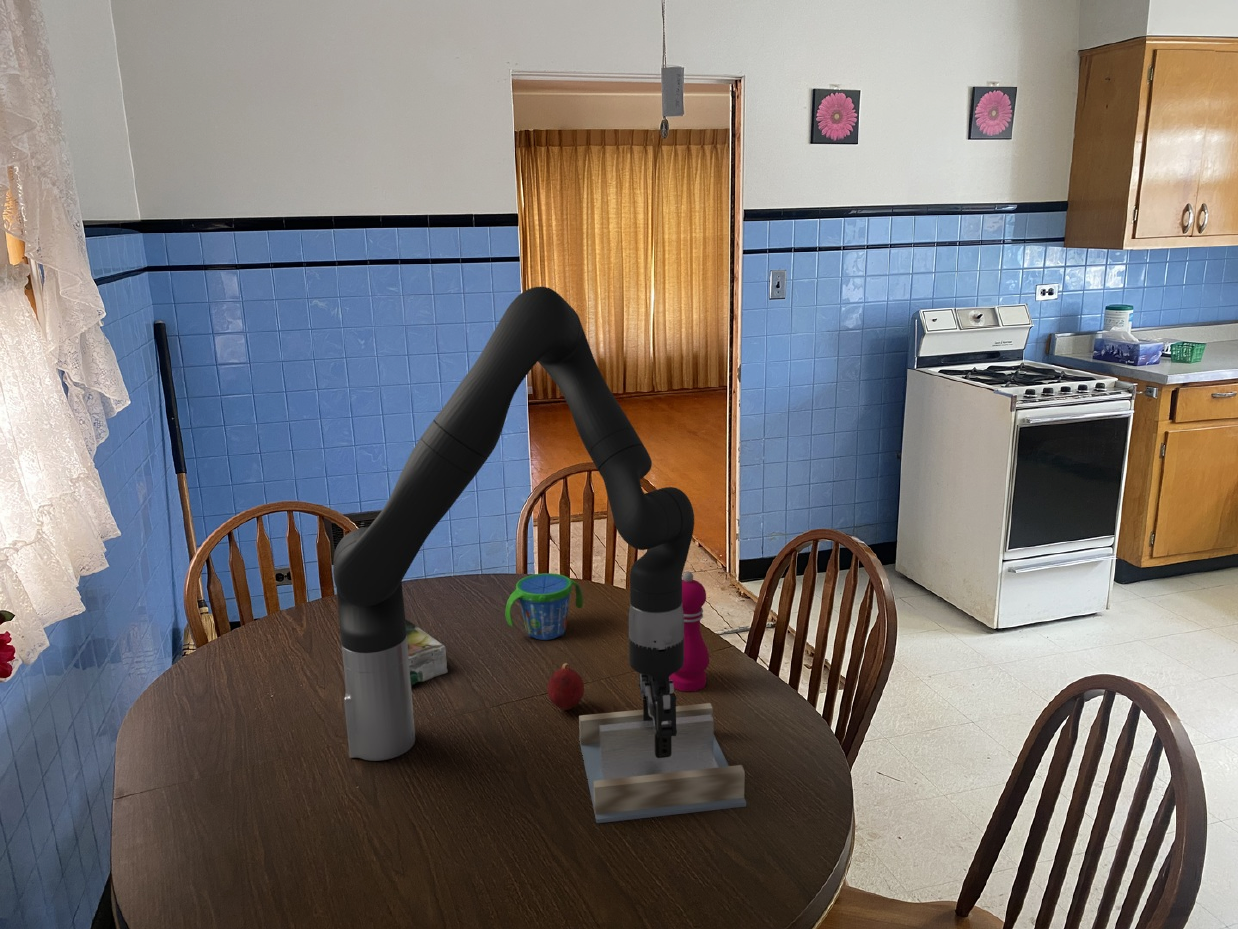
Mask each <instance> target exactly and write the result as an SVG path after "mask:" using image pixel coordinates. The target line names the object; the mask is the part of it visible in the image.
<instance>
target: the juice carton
mask: <svg viewBox="0 0 1238 929" xmlns="http://www.w3.org/2000/svg"><path fill="white" fill-rule="evenodd" d="M406 632H407V644H408V656H409V668H410V680H411V687H412V686H413V685H415V684H416V683H421V682H422V683H423V682H425V681H428V680H431V679H433V678H435V677H438V676H441V675H445V674H447V673H448V671H449V670H448V668H447V665H448V664H447V662H448V660H447V659H448V658H447V655H446V653H447V650H446V649H447V648H446V646H445V645H444V644H443V643H441V642H440V641H438V640H437V639H436V638H434V637H433V636H432V635H430V634H429V633H427V632H426V631H424V630H423V629H422V628H420V627H419V626H417V625H416V624H414V623H413V622H411V621H409V620H407V619H406Z"/></svg>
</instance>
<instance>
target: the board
mask: <svg viewBox="0 0 1238 929" xmlns="http://www.w3.org/2000/svg"><path fill="white" fill-rule="evenodd" d="M578 740H579V741H580V735H579V736H578ZM579 745H580V749H581V750H580V751H581V756H582V755H583V756H582V759H583V760H584V761H583V760H582V761H583V764H584V765H583V766H584V769H585V773H586V779H588V780H587V785H588V788H589V793H590V799H591V802H592V808H593V812H594V816H595V821H596V822H595V823H596V824H603V823H610V822H620V821H629V820H638V819H647V818H653V817H655V818H656V817H665V816H672V815H681V814H691V813H700V812H709V811H715V810H716V811H717V810H727V809H732V808H733V809H734V808H743V807H747V801H746V799H745V797H744V798H738V799H729V800H720V801H711V802H702V803H694V804H685V805H676V806H667V807H658V808H649V809H640V810H631V811H623V812H614V813H605V814H595V810H594V785H593V781H597V780H603V778H602V774H601V770H600V743H597V744H587V745H581V743H580V742H579ZM713 756H714V758H715V761H716V763H717V765H718V767H727V766H730V764H729V763H728V762H727V759H726V757H725V755H724V753H723V751H722V749H721V747H720V745H719V743H718V741H717V738H716V736H715V735H714V738H713Z"/></svg>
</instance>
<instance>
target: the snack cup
mask: <svg viewBox="0 0 1238 929" xmlns="http://www.w3.org/2000/svg"><path fill="white" fill-rule="evenodd" d="M573 585H574V588H575V589H574V590H575V607H577V608H578V609H582V608H583V607H584V594H583V590H582V588H581V586H580V584H578V583H577V582H576V581H574V580H572V578H569V577H567V576H566V575H563V574H559V573H554V572H552V573H548V572H546V573H543V572H542V573H535V574H531V575H527V576H525V577H522V578H520V579H519V580H518V581H517V583H516V585H515V589H514V591H513V592H512V593H511V594H510V595H509V598H508V599H507V601H506V606H505V611H504V612H505V613H504V614H505V615H504V616H505V619H506V623H507V624H508V626H510V627H514V622H513V617H512V608H513V605H514V604H515V603H516V601H517V600H519V603H520V609H521V614H522V618H523V622H524V623H523V624H524V626H525V627H524V628H525V631H526V633H527V635H528V637H530V638H533V639H536V640H540V641H542V640H543V641H549V640H553V639H556V638H558V637H562V636H563V635H564V634H565V632H566V630H567V624H568V615H569V614H568V613H569V605H570V598H571V596H570V594H571V592H572V590H573Z"/></svg>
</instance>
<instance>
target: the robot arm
mask: <svg viewBox="0 0 1238 929" xmlns="http://www.w3.org/2000/svg"><path fill="white" fill-rule="evenodd" d="M505 310H506V311H504V313H503V314H502V317H501V319H500V320H499V322H498V324H497V325H496V326H495V329H494V330H493V332H492V334H491V336H489V339H488V341H487V343H486V345H485V346H484V348H483V349H482V351H481V353H480V355H479V357H478V358H477V360H476V361H475V363H474V364H473V365H472V367H471V368H470V370H469V371H468V372H467V374H466V375H465V376H464V378H462V381H461V382H460V383H459V385H458V386H457V388H456V389H455V391H454V392H453V393H452V395H451V397H450V398H449V399H448V401H447V402H446V403H445V405H444V406H443V408H442V409H441V410H440V412H438V413H437V415H436V416H435V417H434V419H433V420H432V422H431V423H430V424H429V425H428V427H427V428H426V430H425V431H424V432H423V433H422V435H421V437H420V438H419V439H418V441H417V443H416V444H415V446H414V448H413V449H412V451H411V453H410V455H409V457H408V459H407V461H406V463H405V464H404V467H403V469H402V470H401V472H400V475H399V477H398V480H397V482H396V484H395V485H394V489H393V490H392V493H391V494H390V496H389V499H388V500H387V502H386V503H385V505H384V507H383V508H382V510H381V511H380V513H379V514H378V515H377V517H376V518H374V520H373V521H372V522H371V524H370V525H369V526H367V527H360V528H356V529H353V530H351V531H349V532H348V533H347V534H346V535H344V536H343V537H342V538H341V539H340V541H339V542H338V544H337V546H336V548H335V550H334V554H333V567H332V568H333V571H332V572H333V573H332V575H333V581H334V585H335V588H336V594H337V595H336V596H337V607H338V610H337V611H338V622H339V623H338V624H339V625H338V626H339V636H340V643H341V644H340V645H341V652H342V664H343V673H344V682H345V694H344V698H343V703H344V704H343V705H344V714H345V722H346V733H347V734H346V735H347V740H348V741H347V742H348V743H347V744H348V754H349V758H350V759H352V758H353V759H354V758H359V759H362V760H365V761H370V762H371V761H373V762H376V761H377V762H378V761H386V760H390V759H394V758H397V757H400V756H401V755H403V754H405V753H407V752H408V751H409V750H410V749H411V748H412V747H413V746H414V745H415V742H416V732H415V728H416V727H415V719H414V707H413V694H412V686H411V680H410V668H409V656H408V644H407V632H406V620H407V619H406V612H405V601H404V593H403V582H402V581H403V580H404V578H405V576H406V574H407V572H408V570H409V569H410V567H411V566H412V563H413V562H414V560H415V558H416V557H417V555H418V553H419V551H420V549H422V546H423V544H424V543H425V541H426V540H427V538H428V537H429V535H430V534H431V533H432V531H433V530H434V529H435V527H437V525H438V523H439V522H440V521H441V520H442V519H443V518H444V516H445V515H446V514H447V513H448V511H449V510H450V509H451V508H452V507H453V506H454V504H455V503H456V501H457V500H458V499H459V497H460V496H461V495H462V493H463V492H464V491H465V489H466V488H467V487H468V486H469V484H470V483H471V482H472V481H473V479H474V478H475V477H476V475H477V474H478V472H479V471H480V470H481V468H482V467H483V466H484V464H485V463H486V461H487V460H488V458H489V457H490V456H491V454H492V453H493V451H494V449H495V448H496V446H497V445H498V442H499V440H500V437H501V435H502V433H503V432H502V431H503V428H504V427H505V424H506V418H507V417H508V416H507V415H508V412H509V408H510V406H511V405H512V404H511V403H512V401H513V398H514V396H515V394H516V392H517V390H518V389H519V386H520V385H521V384H522V383H523V381H524V379H525V378H526V377H527V375H528V374H529V373H530V371H531V370H532V369H533V367H534V366H535V365H536V364H537V363H538V364H539V365H540V366H541V367H542V368H543V370H545V372H546V373H547V374H548V376H549V377H551V379H552V381H553V382H554V383H555V384H556V386H557V388H558V389H559V391H560V393H562V395H563V398H564V400H565V401H566V403H567V405H568V408H569V410H570V412H571V416H572V418H573V422H574V425H575V427H576V429H577V432H578V436H579V437H580V440H581V442H582V444H583V446H584V448H585V450H586V451H587V453H588V455H589V457H590V459H591V461H592V462H593V464H594V466H595V468H596V469H597V471H598V472H599V475H600V476H601V478H602V480H603V483H604V486H605V490H606V495H607V499H608V502H609V507H610V510H611V515H612V518H613V521H614V526H615V528H616V530H617V533H618V534H619V536H620V537H621V539H622V540H623V541H624V542H625V543H626V544H628V545H629V546H630V547H632V548H633V549H636V550H640V551H644V550H646V552H645V553H643V555H642V556H641V557H639V558H638V559H637V560H636V561H635V562H633V564H632V565H631V568H630V572H629V596H630V597H629V600H630V601H629V610H628V612H629V613H628V664H629V666H630V667H631V669H632V670H634V671H635V672H637V673H638V687H639V689H640V697H641V700H642V710H643V721H649V720H653V724H654V728H653V730H654V741H655V756H656V757H657V758H665V757H670V756H671V736H676V733H677V730H676V706H677V695H676V693H675V692H674V691H675V689H674V687H673V681H672V680H669V677H670V676H671V675H672V674H673V673H675V672H677V671H679V670H680V669H681V668H682V666H683V664H684V614H683V607H682V580H683V574H684V573H683V572H684V569H685V566H686V563H687V561H688V560H687V559H688V555H689V551H690V548H691V543H692V540H693V539H692V538H693V535H694V529H695V512H694V508H693V505H692V502H691V500H690V499H689V497H688V496H687V494H686V493H685V492H684V491H683V490H681V489H679V488H678V487H673V486H672V487H671V486H667V487H665V486H664V487H662V488H658V489H654V490H652V491H649V492H644V490H643V488H642V484H641V480H642V479H644V477H645V476H646V475H648V473H650V470H651V469H652V466H653V462H652V458H651V456H650V453H649V452H648V450H647V449H646V446H645V445H644V443H643V441H642V440H641V438H640V437H639V434H638V433H637V431H636V429H635V427H633V425H632V423H631V421H630V420H629V418H628V417H627V415H626V413H625V411H624V410H623V408H622V407H621V405H620V404H619V402H618V401H617V399H616V397H615V396H614V394H613V393H612V391H611V390H610V389H611V388H609V386H608V384H607V382H606V381H605V378H604V377H603V375H602V373H601V371H600V369H599V366H598V364H597V362H596V359H595V357H594V355H593V352H592V350H591V347H590V344H589V341H588V339H587V336H586V334H585V331H584V328H583V324H582V323H581V322H582V321H581V319H580V316H579V315H578V313H577V312H576V310H575V309H574V308H573V307H572V306H571V305H570V304H569V303H568V302H567V301H566V300H565V299H564V298H563V296H561V295H560V294H559V293H558V292H557V291H555V290H554V289H552V288H550V287H548V286H547V287H546V286H534V287H530V288H528V289H526V290H524V291H523V292H521V293H520V294H518V295H517V296H516V297H515V299H514V300H513V301H512V302H511V303H510V305H508V307H507V309H505ZM663 721H667V722H668V724H663V725H662V722H663Z"/></svg>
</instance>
